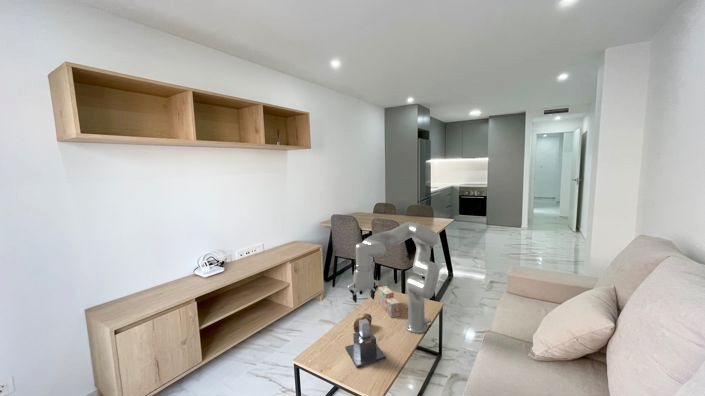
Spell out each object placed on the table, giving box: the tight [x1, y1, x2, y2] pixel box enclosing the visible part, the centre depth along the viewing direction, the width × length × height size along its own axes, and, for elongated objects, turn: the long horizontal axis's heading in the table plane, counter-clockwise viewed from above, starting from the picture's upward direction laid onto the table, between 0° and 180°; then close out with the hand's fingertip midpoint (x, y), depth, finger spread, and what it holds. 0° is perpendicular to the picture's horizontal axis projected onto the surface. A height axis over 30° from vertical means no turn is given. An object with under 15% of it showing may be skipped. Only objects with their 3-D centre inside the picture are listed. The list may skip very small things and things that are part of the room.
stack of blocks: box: [377, 285, 401, 318], centre depth 194 cm, size 21×6×12 cm, turn 17°
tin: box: [353, 313, 373, 333], centre depth 171 cm, size 15×3×8 cm, turn 140°
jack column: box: [359, 319, 371, 340], centre depth 148 cm, size 4×4×16 cm
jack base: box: [345, 329, 387, 369], centre depth 149 cm, size 16×16×10 cm
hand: (363, 299), depth 147 cm, fingers open, 9 cm apart
